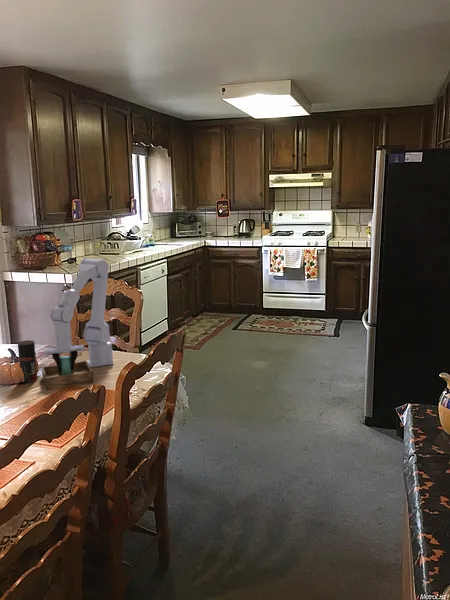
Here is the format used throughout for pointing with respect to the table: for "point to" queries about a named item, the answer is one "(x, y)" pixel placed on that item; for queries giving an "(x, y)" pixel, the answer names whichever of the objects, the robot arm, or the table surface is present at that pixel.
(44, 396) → the table surface
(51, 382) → the box
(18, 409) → the table surface
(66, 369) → the peg
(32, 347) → the deodorant
